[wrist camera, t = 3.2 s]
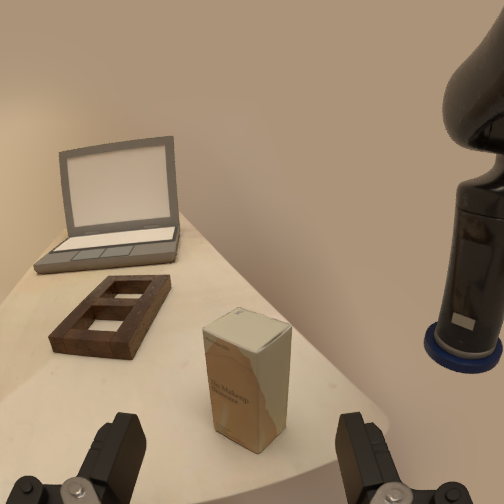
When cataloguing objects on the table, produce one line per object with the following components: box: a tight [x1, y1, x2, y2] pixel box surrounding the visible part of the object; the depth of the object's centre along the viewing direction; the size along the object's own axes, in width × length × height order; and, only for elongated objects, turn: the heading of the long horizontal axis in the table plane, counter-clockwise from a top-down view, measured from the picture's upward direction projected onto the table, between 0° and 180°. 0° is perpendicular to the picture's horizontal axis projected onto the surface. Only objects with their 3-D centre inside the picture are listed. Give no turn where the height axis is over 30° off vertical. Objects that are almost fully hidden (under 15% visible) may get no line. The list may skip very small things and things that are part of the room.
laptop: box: [33, 136, 180, 274], centre depth 75 cm, size 35×26×28 cm
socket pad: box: [48, 275, 171, 360], centre depth 46 cm, size 12×22×2 cm, turn 0°
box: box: [203, 307, 292, 454], centre depth 24 cm, size 5×4×11 cm
